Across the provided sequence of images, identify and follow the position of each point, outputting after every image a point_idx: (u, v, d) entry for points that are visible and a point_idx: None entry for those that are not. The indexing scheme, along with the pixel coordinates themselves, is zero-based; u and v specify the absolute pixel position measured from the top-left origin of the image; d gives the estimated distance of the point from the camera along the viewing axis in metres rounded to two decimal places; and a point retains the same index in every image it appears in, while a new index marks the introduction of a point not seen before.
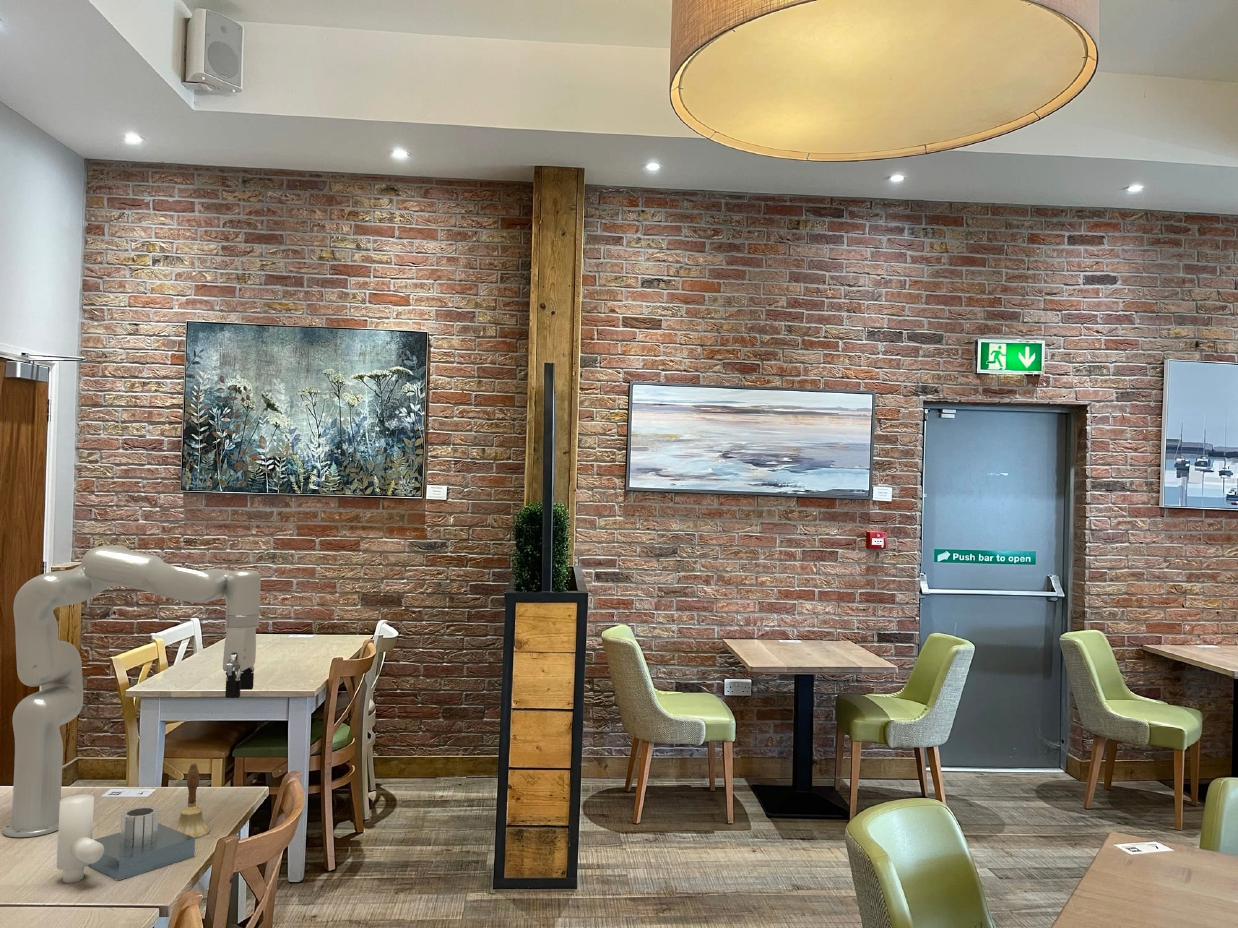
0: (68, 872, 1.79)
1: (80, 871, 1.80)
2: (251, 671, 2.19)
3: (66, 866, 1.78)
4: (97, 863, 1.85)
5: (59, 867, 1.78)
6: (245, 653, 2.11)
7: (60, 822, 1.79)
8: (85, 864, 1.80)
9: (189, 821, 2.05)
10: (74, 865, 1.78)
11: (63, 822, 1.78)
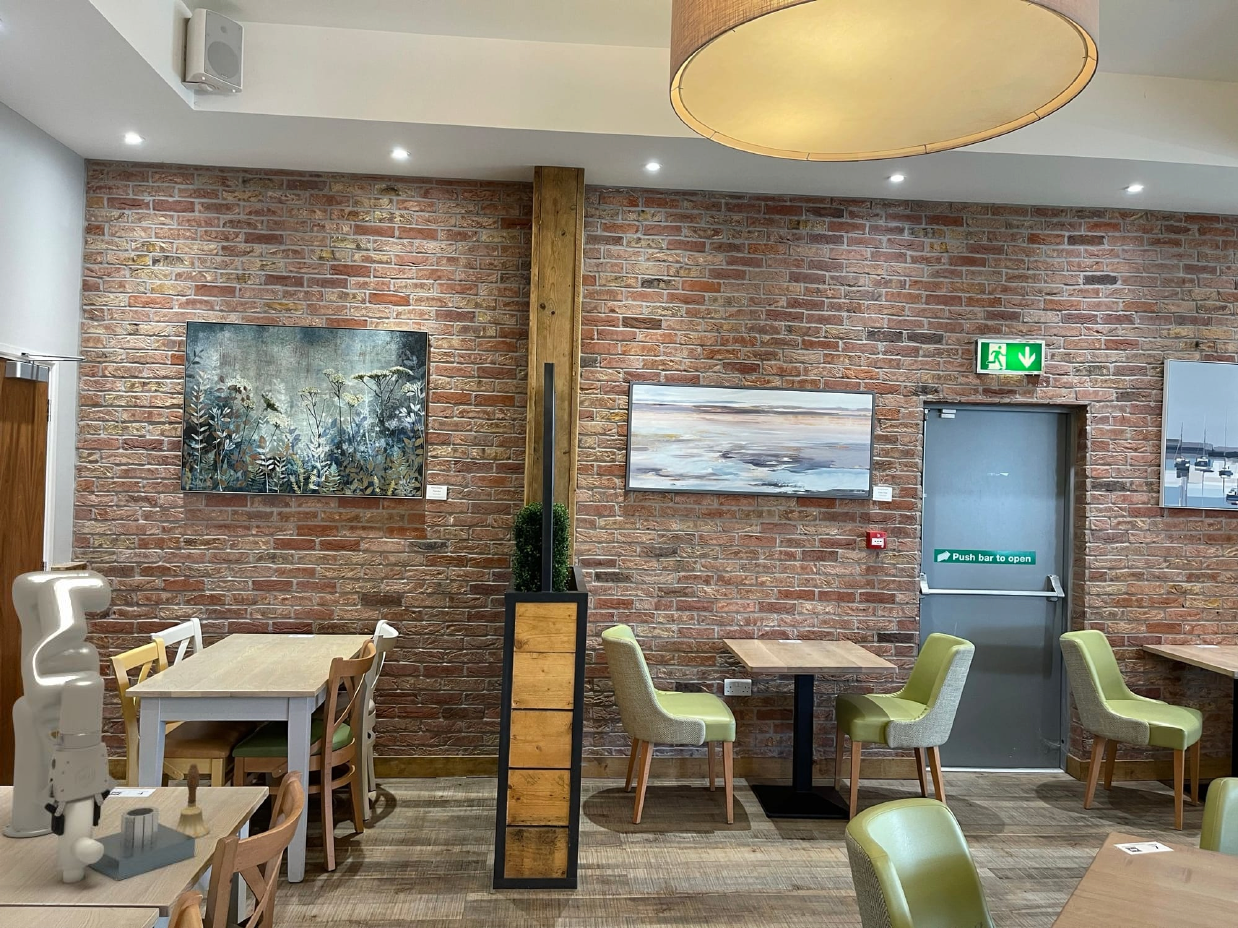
0: (68, 872, 1.79)
1: (80, 871, 1.80)
2: None
3: (66, 866, 1.78)
4: (97, 863, 1.85)
5: (59, 867, 1.78)
6: None
7: None
8: (85, 864, 1.80)
9: (189, 821, 2.05)
10: (74, 865, 1.78)
11: None
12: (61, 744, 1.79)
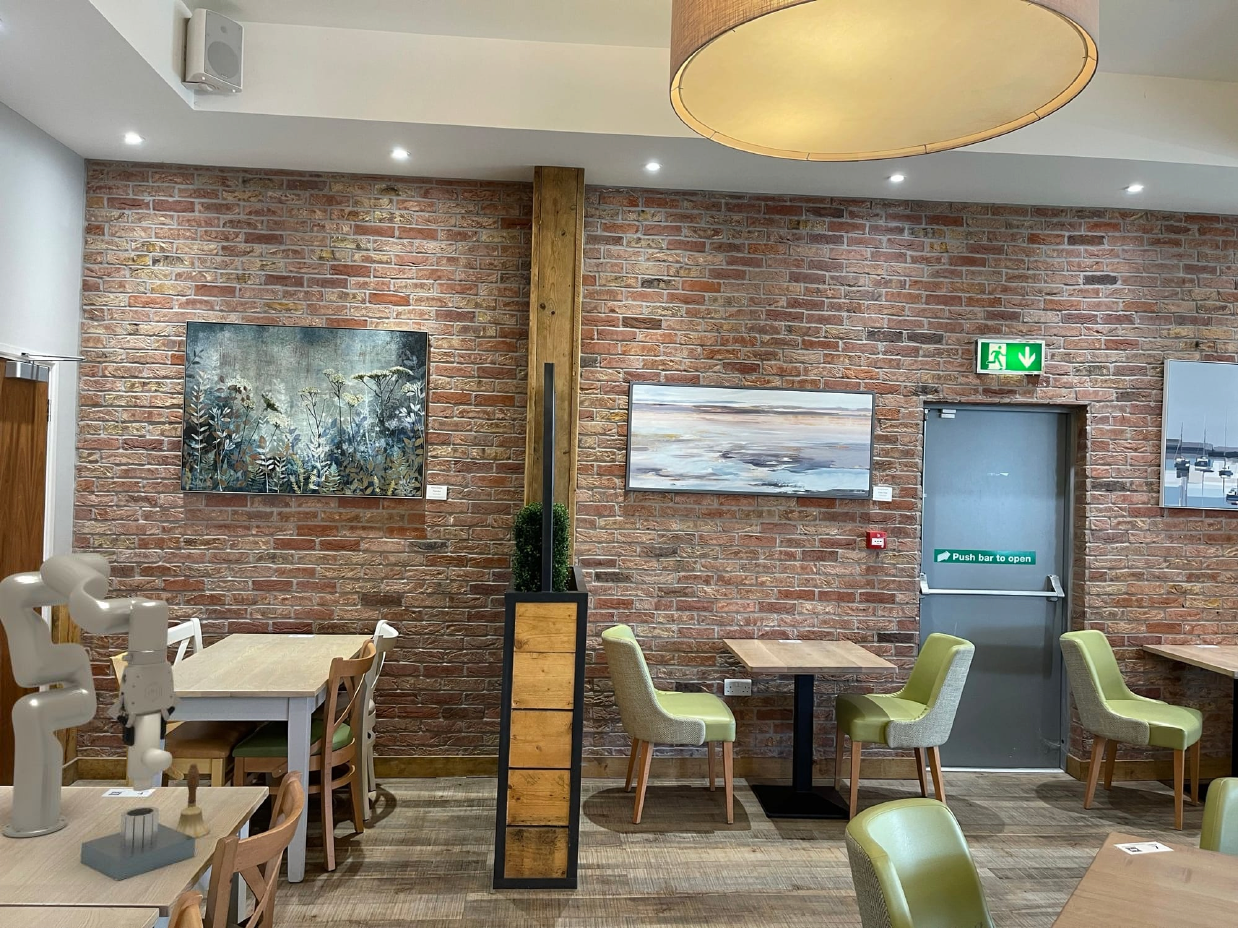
0: (138, 781, 1.90)
1: (149, 780, 1.92)
2: None
3: (137, 775, 1.89)
4: (97, 863, 1.85)
5: (130, 776, 1.89)
6: None
7: None
8: (154, 774, 1.91)
9: (189, 821, 2.05)
10: (144, 773, 1.90)
11: (134, 733, 1.90)
12: (131, 660, 1.90)
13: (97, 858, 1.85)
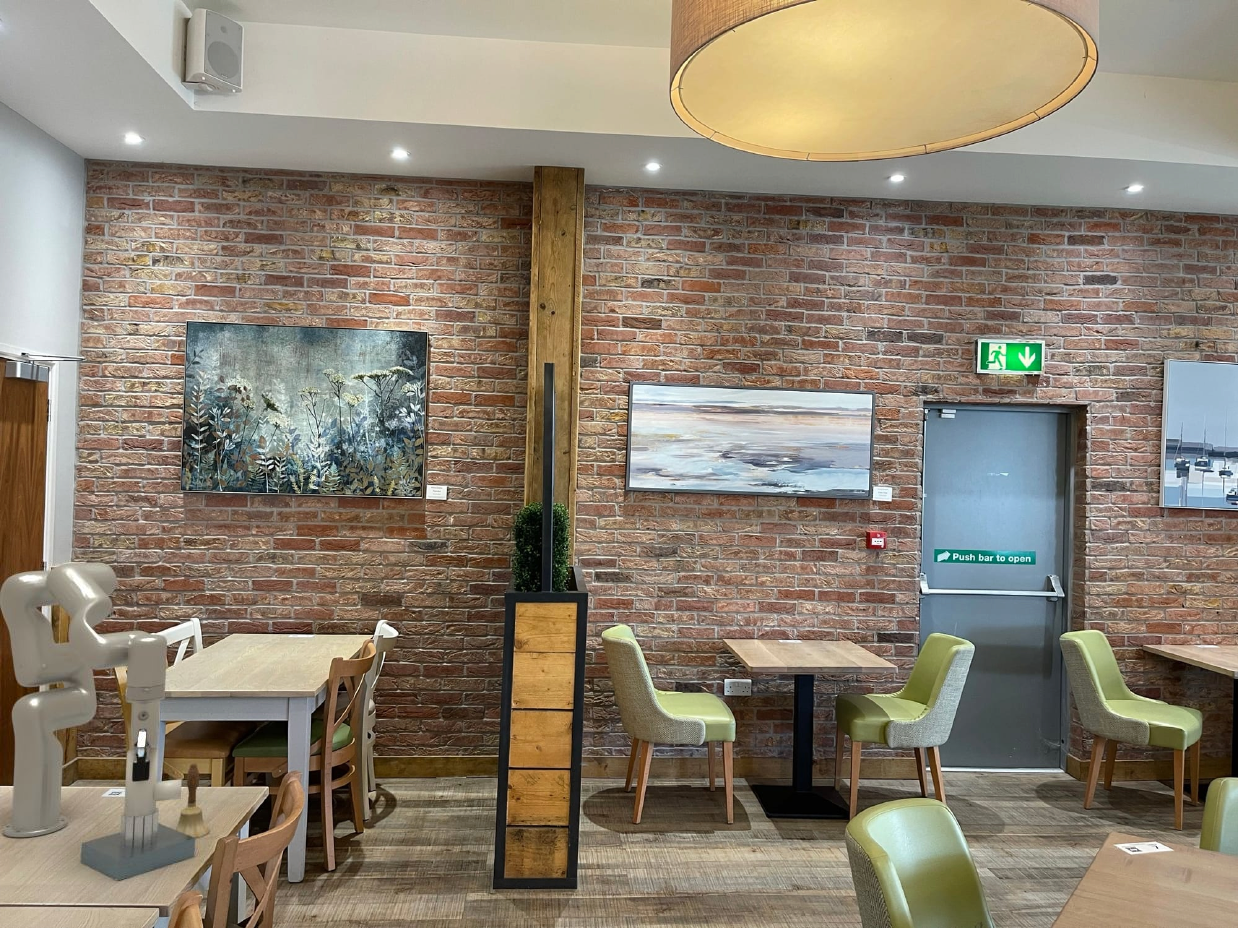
0: None
1: None
2: None
3: (149, 810, 1.91)
4: (97, 863, 1.85)
5: (141, 814, 1.89)
6: None
7: None
8: None
9: (189, 821, 2.05)
10: (154, 807, 1.92)
11: None
12: (148, 696, 1.90)
13: (97, 858, 1.85)
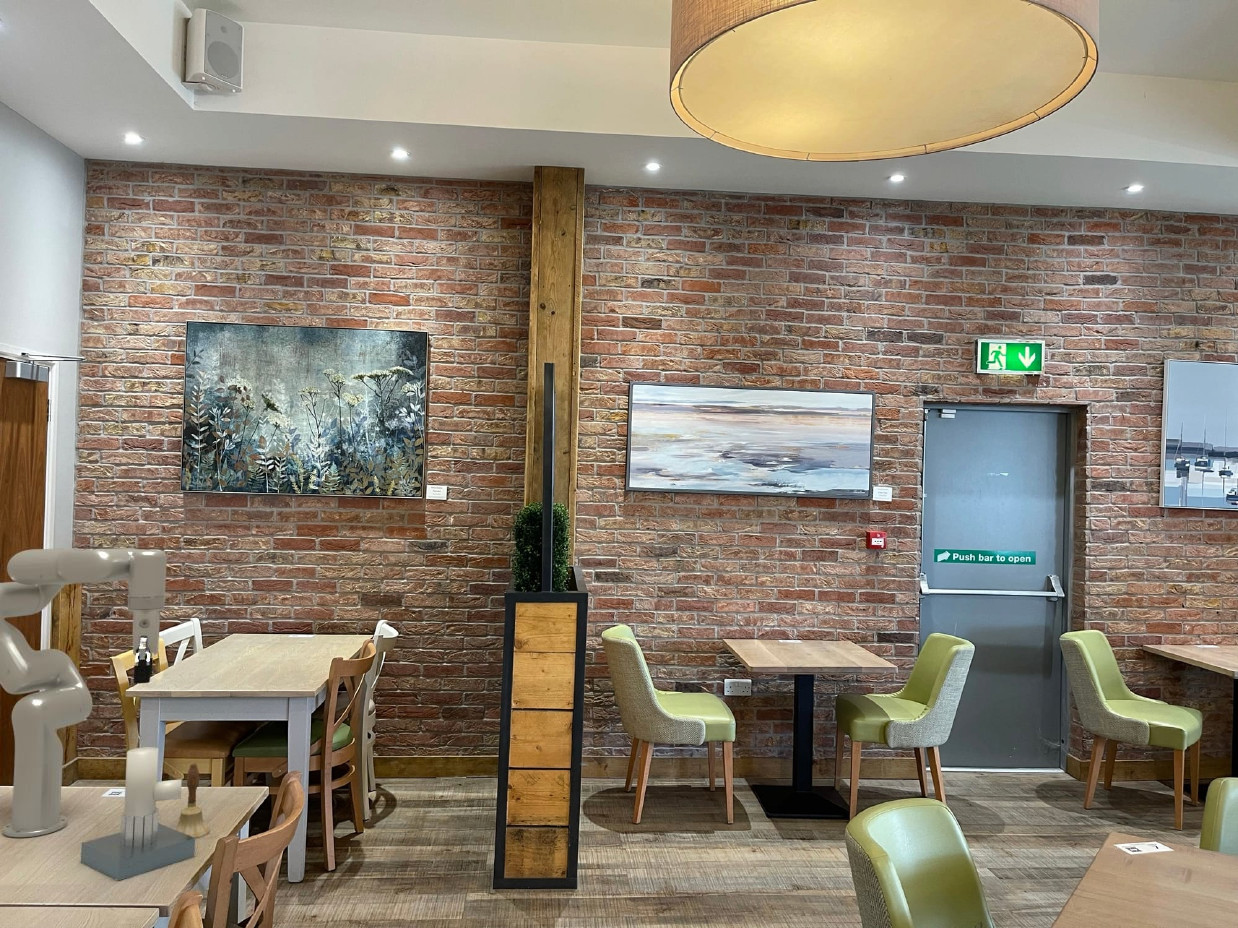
0: None
1: None
2: None
3: (149, 810, 1.91)
4: (97, 863, 1.85)
5: (141, 814, 1.89)
6: None
7: (140, 773, 1.90)
8: None
9: (189, 821, 2.05)
10: (154, 807, 1.92)
11: (146, 771, 1.90)
12: (149, 606, 2.01)
13: (97, 858, 1.85)
